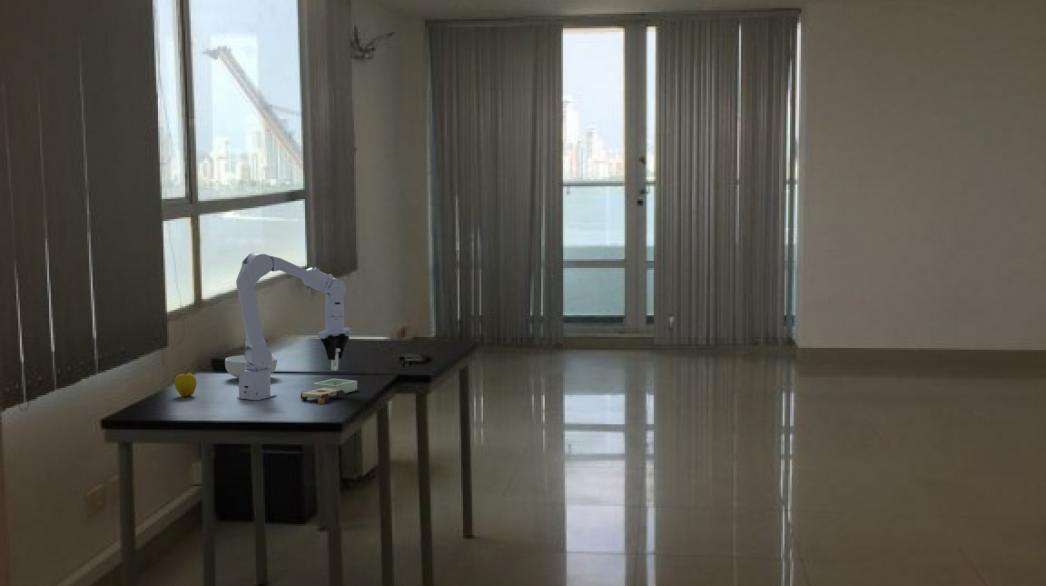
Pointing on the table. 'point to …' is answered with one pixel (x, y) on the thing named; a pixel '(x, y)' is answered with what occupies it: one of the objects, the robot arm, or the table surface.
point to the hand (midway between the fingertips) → (334, 359)
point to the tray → (337, 385)
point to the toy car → (322, 394)
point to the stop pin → (335, 361)
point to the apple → (185, 384)
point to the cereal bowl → (243, 365)
